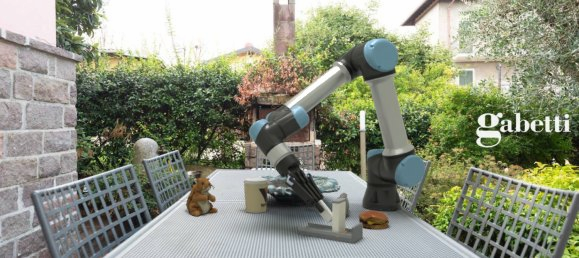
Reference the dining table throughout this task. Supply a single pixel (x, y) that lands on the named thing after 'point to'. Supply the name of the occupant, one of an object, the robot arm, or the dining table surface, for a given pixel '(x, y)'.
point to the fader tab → (338, 215)
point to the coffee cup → (256, 194)
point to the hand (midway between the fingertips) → (331, 219)
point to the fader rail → (327, 233)
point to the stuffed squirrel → (201, 198)
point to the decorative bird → (346, 202)
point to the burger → (374, 219)
